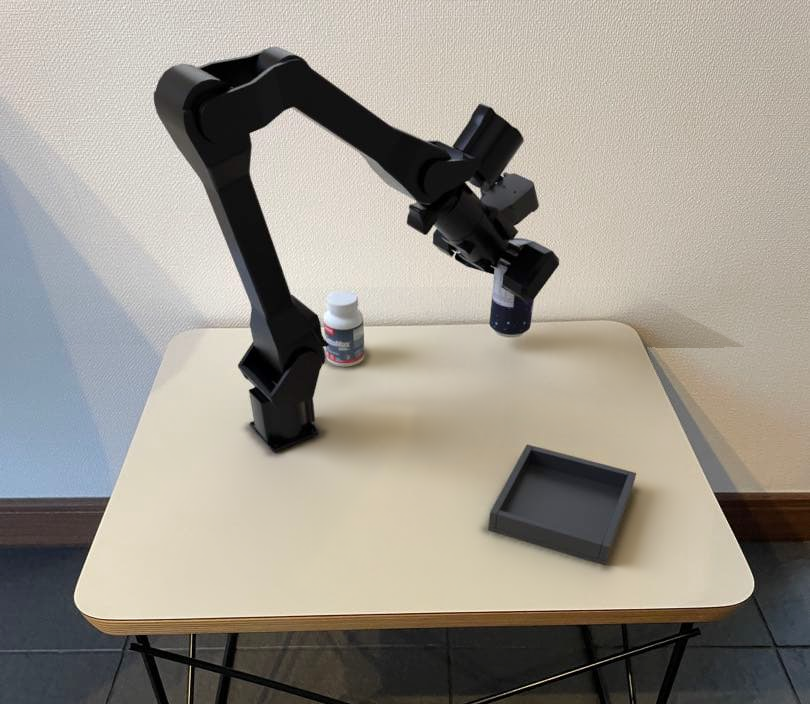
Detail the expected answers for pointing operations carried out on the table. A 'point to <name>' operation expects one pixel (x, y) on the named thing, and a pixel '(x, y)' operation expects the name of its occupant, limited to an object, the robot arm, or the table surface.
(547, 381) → the table surface
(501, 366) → the table surface
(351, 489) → the table surface
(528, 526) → the square tray
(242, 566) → the table surface
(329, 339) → the pill bottle
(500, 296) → the beverage can
